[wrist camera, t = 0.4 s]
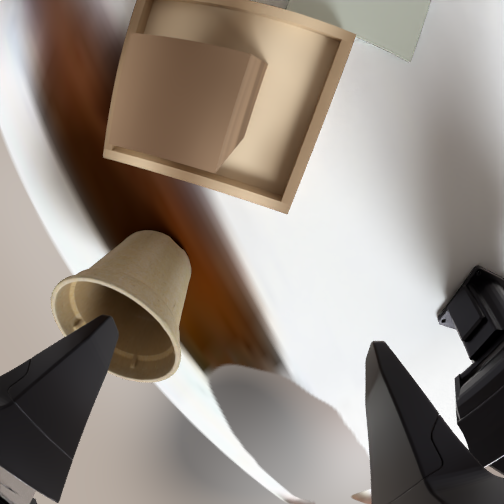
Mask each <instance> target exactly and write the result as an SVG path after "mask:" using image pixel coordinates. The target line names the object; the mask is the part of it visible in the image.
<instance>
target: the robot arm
mask: <svg viewBox="0 0 504 504" xmlns="http://www.w3.org/2000/svg"><path fill="white" fill-rule="evenodd" d="M478 271H479V272H478ZM477 272H478V273H477ZM438 322H439V324H440V325H443V326H446V327H450V328H453V329H456V330H457V332H458V334H459V336H460V339H461V341H463V344H464V346H465V349H466V351H467V353H468V356H469V358H470V360H472V363H473V364H472V365H470V366H469V367H468V368H467V369H466V370H465V371H464V372H463V373H462V374H459V375H458V376H457V377H456V378H455V392H456V416H457V425H458V426H459V428H460V429H461V431H462V432H463V434H464V437H465V439H466V441H467V444H468V448H469V450H468V449H467V448H466V447H465V446H464V445H463V444H462V442H461V441H460V440H459V439H458V438H457V436H456V435H455V434H454V433H453V432H452V430H451V429H450V428H449V426H448V425H447V424H446V422H445V421H444V420H443V418H442V417H441V415H439V413H438V411H437V410H436V409H435V407H434V406H433V405H432V403H431V402H430V400H429V399H428V398H427V396H426V395H425V394H424V392H423V391H422V390H421V388H420V387H419V386H418V384H417V383H416V382H415V380H414V379H413V378H412V376H411V375H410V374H409V372H408V371H407V370H406V368H405V367H404V366H403V365H402V363H401V362H400V361H399V359H398V358H397V357H396V355H395V354H394V353H393V352H392V350H391V349H390V348H389V346H388V345H387V344H386V343H385V342H384V341H373V342H372V343H371V345H370V348H369V351H368V354H367V357H366V393H365V405H366V417H367V427H368V439H369V453H370V469H371V495H372V504H504V478H501V477H498V476H495V475H493V474H492V473H490V472H489V471H487V470H486V469H485V467H487V466H490V467H492V468H493V469H495V470H496V471H498V472H500V473H501V474H503V475H504V278H502V277H500V276H498V275H496V274H494V273H492V272H490V271H488V270H486V269H484V268H482V267H480V266H477V267H475V268H474V269H473V271H472V272H471V274H470V275H469V276H468V278H467V279H466V281H465V282H464V284H463V285H462V286H461V288H460V289H459V291H458V292H457V293H456V295H455V296H454V297H453V299H452V300H451V302H450V303H449V304H448V305H447V307H446V308H445V309H444V311H443V312H442V313H441V315H440V316H439V317H438ZM118 337H119V332H118V329H117V327H116V324H115V322H114V319H113V317H112V316H109V315H104V314H103V315H100V316H98V317H97V318H95V319H93V320H92V321H90V322H88V323H87V324H85V325H84V326H82V327H80V328H79V329H77V330H75V331H74V332H72V333H71V334H69V335H67V336H66V337H64V338H63V339H61V340H59V341H58V342H56V343H54V344H53V345H51V346H50V347H48V348H47V349H45V350H43V351H42V352H40V353H39V354H37V355H36V356H34V357H32V359H29V360H28V361H26V362H24V363H23V364H21V365H20V366H18V367H16V368H14V369H13V370H11V371H9V372H7V373H6V374H3V375H2V376H0V504H37V503H36V500H35V499H34V498H33V496H34V494H35V492H36V491H38V492H40V493H41V494H43V495H44V496H46V497H48V498H50V499H51V500H53V501H55V502H57V503H58V502H59V500H60V497H61V494H62V491H63V488H64V484H65V482H66V478H67V475H68V472H69V470H70V467H71V464H72V459H73V457H74V455H75V452H76V449H77V447H78V444H79V441H80V438H81V436H82V433H83V430H84V427H85V425H86V422H87V420H88V417H89V415H90V412H91V410H92V407H93V405H94V403H95V400H96V398H97V395H98V393H99V390H100V388H101V386H102V383H103V381H104V379H105V376H106V374H107V371H108V368H109V365H110V362H111V359H112V356H113V353H114V350H115V347H116V344H117V341H118Z"/></svg>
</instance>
